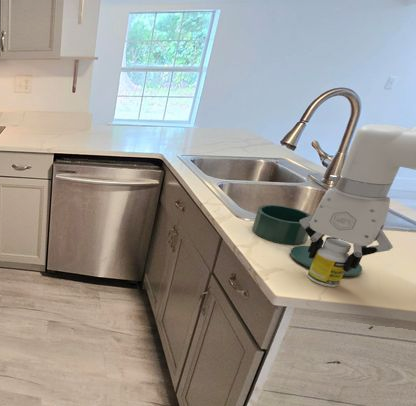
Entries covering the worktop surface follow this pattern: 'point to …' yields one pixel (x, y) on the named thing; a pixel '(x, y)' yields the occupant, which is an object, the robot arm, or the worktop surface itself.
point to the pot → (280, 224)
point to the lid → (303, 257)
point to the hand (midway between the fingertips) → (330, 262)
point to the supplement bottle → (329, 263)
